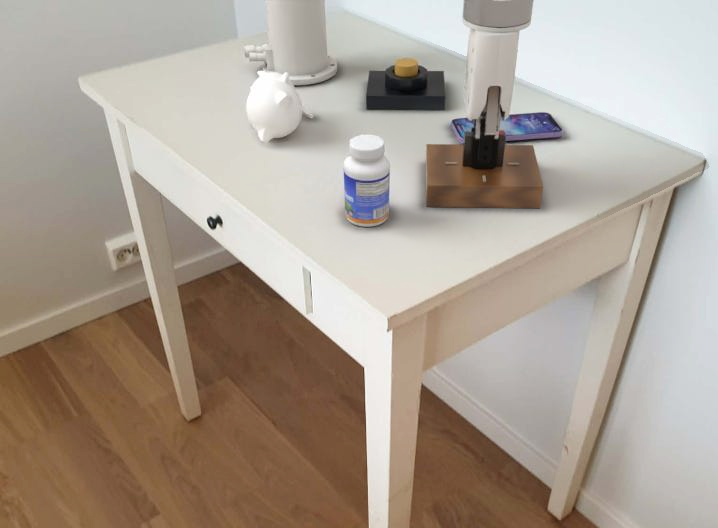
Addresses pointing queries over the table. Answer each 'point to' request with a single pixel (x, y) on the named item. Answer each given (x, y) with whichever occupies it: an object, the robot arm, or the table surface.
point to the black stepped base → (405, 90)
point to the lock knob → (468, 147)
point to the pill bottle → (366, 181)
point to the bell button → (406, 67)
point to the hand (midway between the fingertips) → (482, 161)
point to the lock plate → (482, 179)
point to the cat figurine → (274, 106)
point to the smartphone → (516, 126)
